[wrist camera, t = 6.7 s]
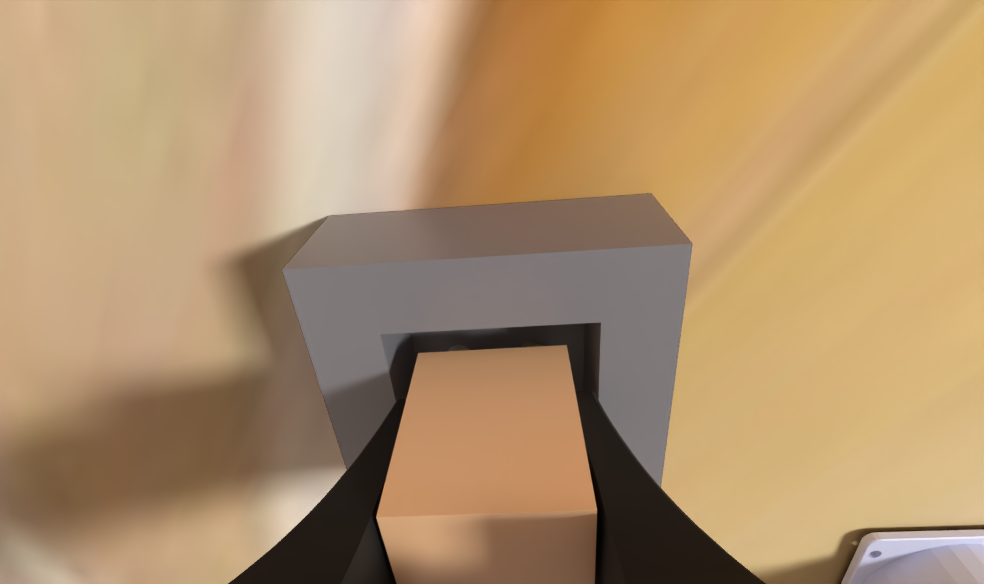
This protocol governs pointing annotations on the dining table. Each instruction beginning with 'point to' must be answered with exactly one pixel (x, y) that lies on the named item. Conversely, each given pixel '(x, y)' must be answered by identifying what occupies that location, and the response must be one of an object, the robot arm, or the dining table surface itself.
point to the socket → (497, 303)
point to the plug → (490, 472)
